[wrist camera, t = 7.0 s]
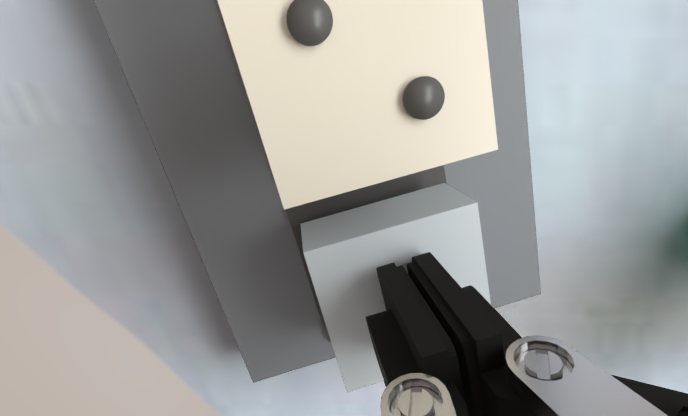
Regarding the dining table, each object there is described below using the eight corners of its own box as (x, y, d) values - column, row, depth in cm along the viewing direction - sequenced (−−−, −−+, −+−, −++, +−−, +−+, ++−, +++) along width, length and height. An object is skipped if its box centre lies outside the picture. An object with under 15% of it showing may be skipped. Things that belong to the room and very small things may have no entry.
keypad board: (514, 273, 18) (543, 296, 16) (256, 350, 17) (252, 386, 15) (449, -360, 11) (486, -464, 9) (6, -276, 10) (-65, -369, 8)
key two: (454, 137, 11) (501, 150, 9) (285, 184, 11) (284, 211, 8) (425, -65, 9) (474, -120, 7) (222, -17, 9) (198, -55, 7)
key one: (463, 306, 15) (498, 348, 12) (337, 344, 14) (347, 395, 12) (444, 183, 13) (479, 203, 11) (300, 223, 13) (303, 254, 10)
